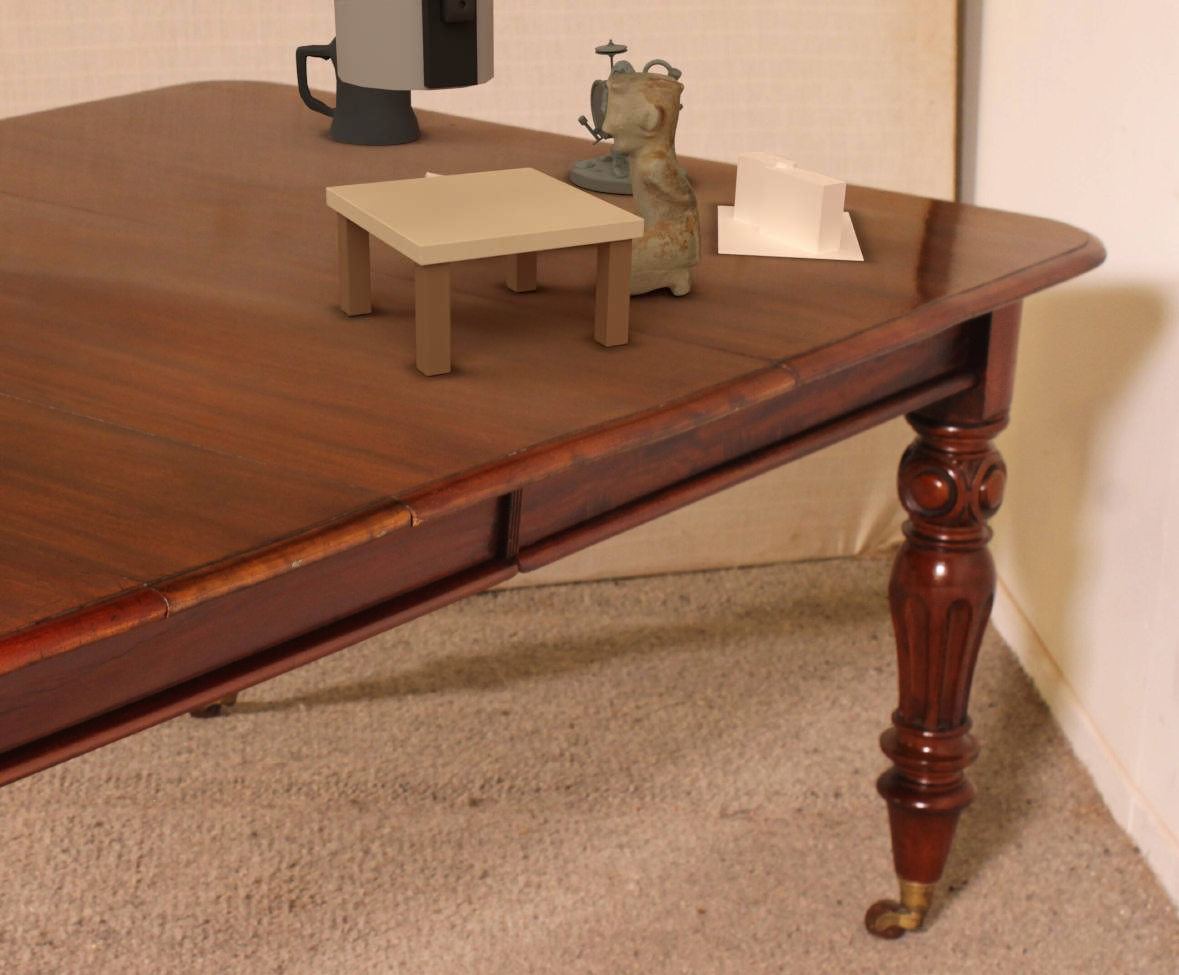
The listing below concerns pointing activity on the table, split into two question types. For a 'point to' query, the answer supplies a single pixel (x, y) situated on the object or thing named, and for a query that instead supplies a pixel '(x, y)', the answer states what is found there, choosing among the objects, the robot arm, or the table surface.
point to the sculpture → (655, 180)
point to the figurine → (607, 169)
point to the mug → (359, 106)
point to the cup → (396, 43)
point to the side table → (480, 243)
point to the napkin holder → (786, 213)
